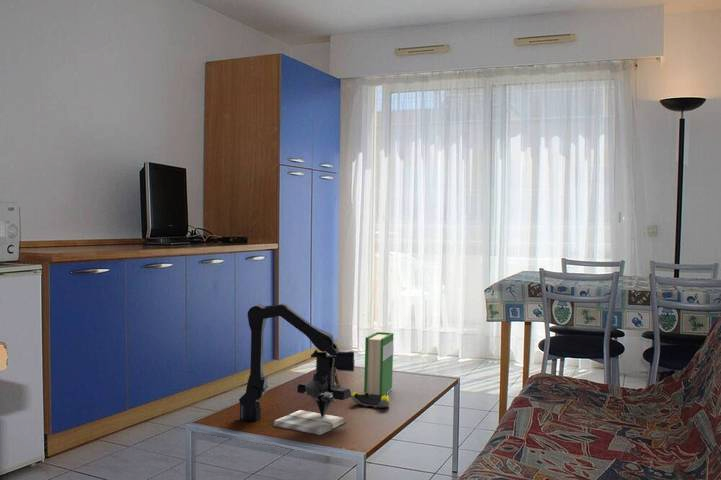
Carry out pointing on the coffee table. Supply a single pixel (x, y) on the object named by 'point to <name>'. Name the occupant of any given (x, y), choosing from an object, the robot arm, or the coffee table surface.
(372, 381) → the hardback book
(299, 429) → the plank
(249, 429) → the coffee table surface
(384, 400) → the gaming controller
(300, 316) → the robot arm
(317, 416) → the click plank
